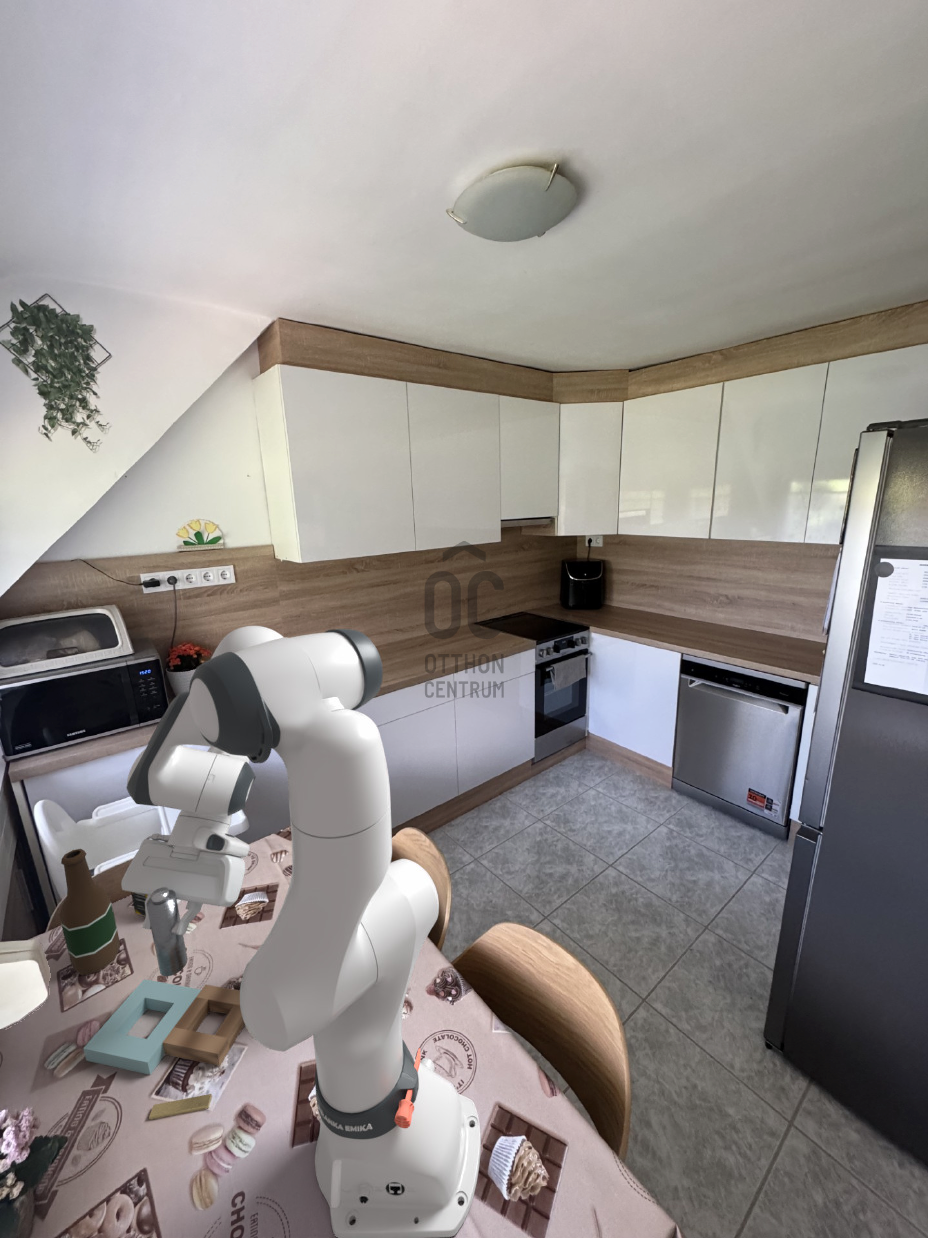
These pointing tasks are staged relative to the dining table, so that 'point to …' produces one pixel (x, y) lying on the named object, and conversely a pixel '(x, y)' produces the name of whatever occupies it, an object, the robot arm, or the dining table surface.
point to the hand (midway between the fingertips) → (163, 931)
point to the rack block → (112, 1038)
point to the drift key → (180, 1106)
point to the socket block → (202, 1045)
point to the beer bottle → (87, 918)
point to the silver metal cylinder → (166, 931)
